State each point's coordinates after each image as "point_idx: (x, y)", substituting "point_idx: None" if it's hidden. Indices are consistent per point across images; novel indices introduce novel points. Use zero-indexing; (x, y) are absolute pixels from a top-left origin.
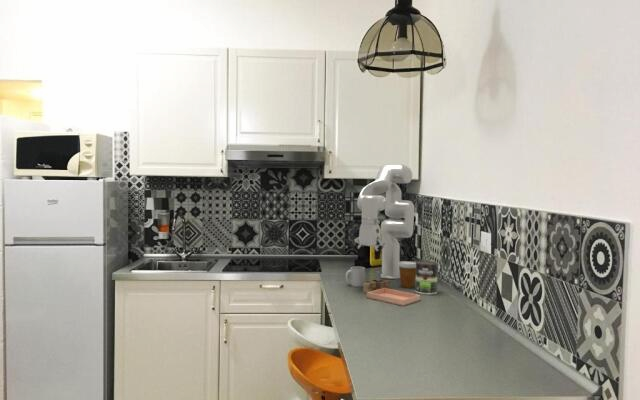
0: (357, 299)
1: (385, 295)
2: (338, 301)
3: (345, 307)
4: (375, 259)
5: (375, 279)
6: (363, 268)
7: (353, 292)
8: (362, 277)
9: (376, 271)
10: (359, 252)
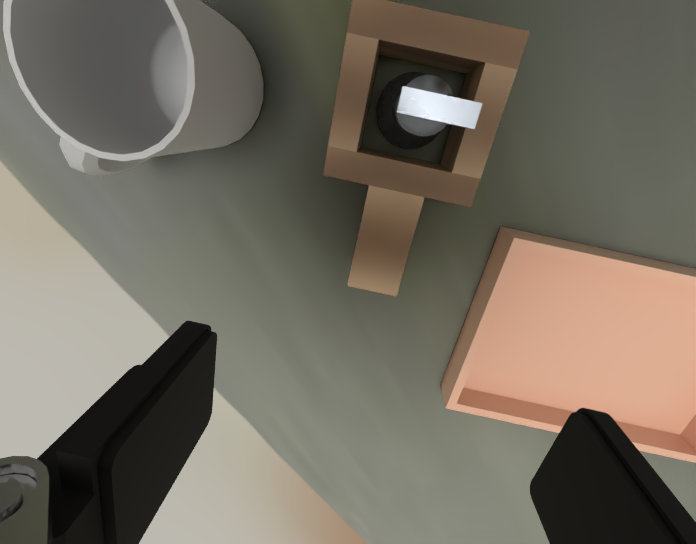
0: (406, 425)
1: (537, 308)
2: (345, 484)
3: (418, 538)
4: (541, 487)
5: (367, 64)
6: (189, 68)
7: (310, 308)
8: (236, 102)
9: (399, 104)
10: (159, 492)
